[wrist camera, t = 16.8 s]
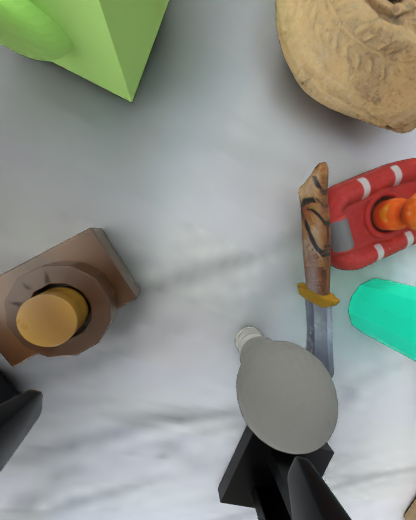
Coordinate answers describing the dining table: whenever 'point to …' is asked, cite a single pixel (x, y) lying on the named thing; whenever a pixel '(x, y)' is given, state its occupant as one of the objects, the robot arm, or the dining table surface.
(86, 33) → the teapot
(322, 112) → the dining table surface
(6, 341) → the button box
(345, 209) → the toy boat
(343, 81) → the oil lamp
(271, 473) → the bracket
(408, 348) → the candle
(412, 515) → the wooden block
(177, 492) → the dining table surface
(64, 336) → the button
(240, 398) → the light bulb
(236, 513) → the dining table surface
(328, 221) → the knife
